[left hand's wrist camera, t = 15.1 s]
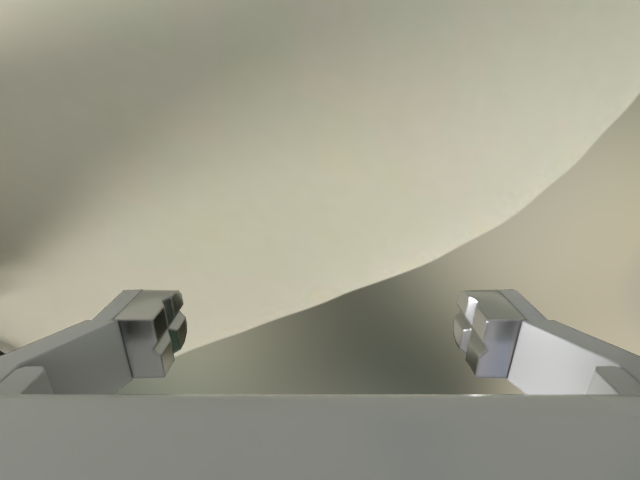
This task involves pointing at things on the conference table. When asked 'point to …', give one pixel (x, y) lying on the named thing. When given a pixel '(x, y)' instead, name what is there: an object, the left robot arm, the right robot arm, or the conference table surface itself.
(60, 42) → the conference table surface
